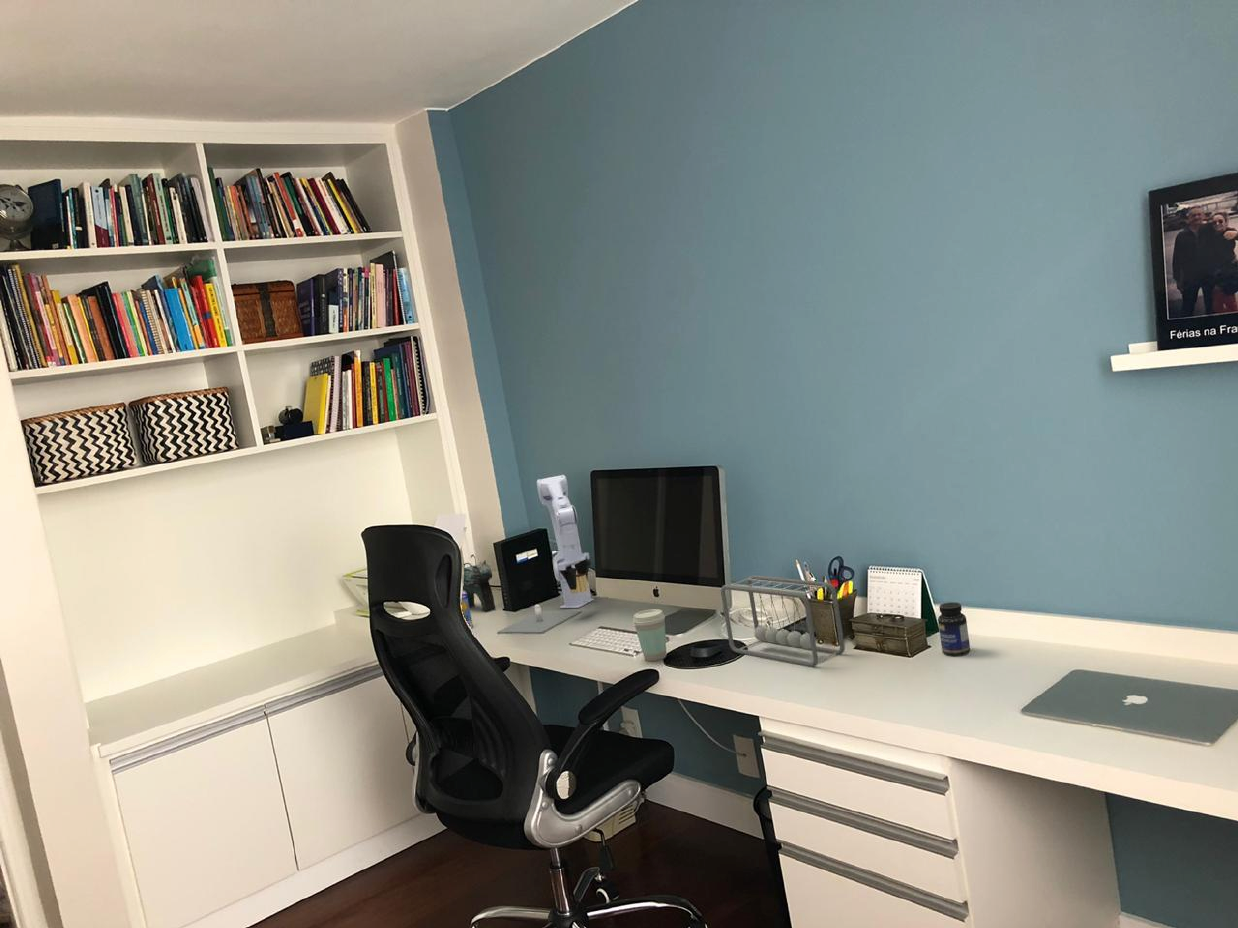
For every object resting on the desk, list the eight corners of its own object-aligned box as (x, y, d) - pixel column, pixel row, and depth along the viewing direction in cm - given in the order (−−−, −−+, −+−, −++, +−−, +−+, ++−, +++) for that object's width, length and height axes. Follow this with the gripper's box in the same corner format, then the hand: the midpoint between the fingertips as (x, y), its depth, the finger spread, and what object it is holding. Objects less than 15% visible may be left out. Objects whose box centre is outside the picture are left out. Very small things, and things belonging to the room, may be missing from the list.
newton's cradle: (847, 655, 236) (835, 582, 235) (817, 668, 230) (805, 594, 229) (758, 639, 261) (748, 574, 259) (729, 651, 255) (718, 584, 253)
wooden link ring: (577, 588, 319) (574, 573, 319) (591, 588, 316) (588, 572, 316) (567, 593, 315) (564, 578, 314) (581, 593, 312) (579, 577, 311)
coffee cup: (676, 651, 263) (668, 607, 262) (664, 662, 255) (656, 617, 254) (647, 652, 266) (639, 609, 265) (634, 663, 259) (626, 618, 258)
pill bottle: (937, 654, 225) (930, 607, 224) (951, 646, 229) (945, 600, 228) (961, 658, 220) (954, 610, 219) (976, 649, 224) (969, 602, 223)
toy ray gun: (500, 609, 349) (490, 553, 347) (484, 614, 346) (473, 558, 344) (474, 603, 365) (463, 551, 363) (458, 608, 362) (448, 555, 360)
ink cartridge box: (444, 635, 325) (436, 592, 324) (442, 631, 331) (434, 589, 329) (474, 628, 328) (466, 585, 327) (471, 624, 333) (463, 582, 332)
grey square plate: (538, 612, 334) (534, 595, 333) (581, 611, 324) (578, 594, 323) (497, 633, 315) (493, 615, 315) (542, 633, 306) (538, 614, 305)
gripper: (568, 550, 306) (576, 592, 307) (594, 538, 318) (601, 579, 319) (550, 551, 309) (557, 593, 311) (576, 539, 322) (583, 580, 323)
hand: (578, 586), depth 315 cm, fingers closed on wooden link ring, 6 cm apart
